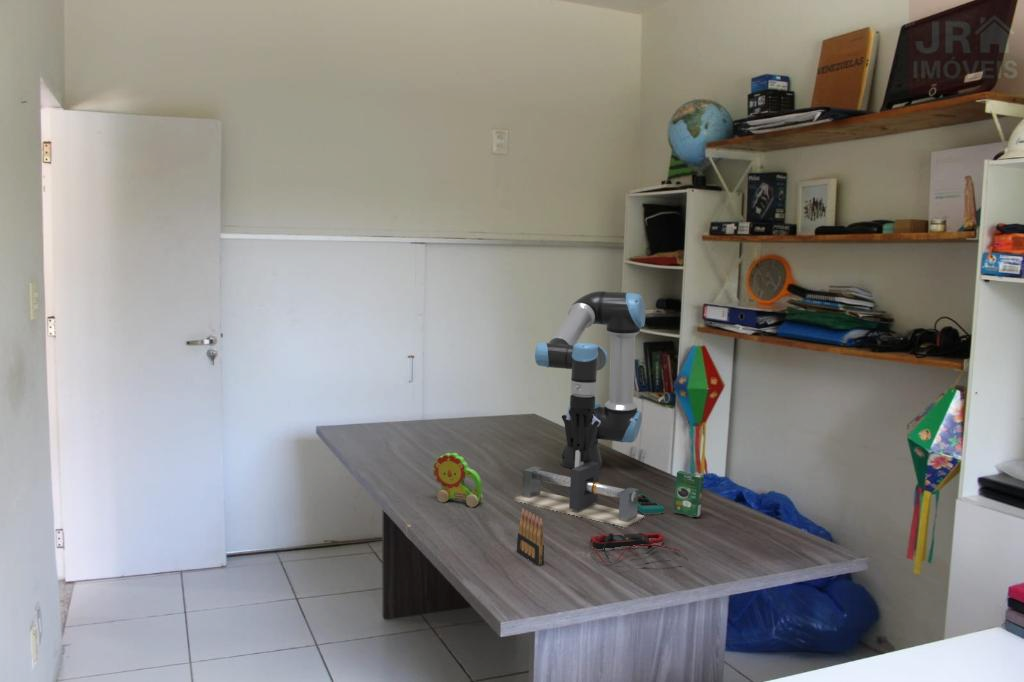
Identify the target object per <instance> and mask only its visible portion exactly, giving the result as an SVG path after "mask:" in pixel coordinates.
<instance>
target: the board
mask: <svg viewBox="0 0 1024 682" xmlns="http://www.w3.org/2000/svg"><path fill="white" fill-rule="evenodd" d="M513 501H514V502H516V501H517V503H520V502H522V503H521V504H524V503H526V504H525V505H528V504H530V505H529V506H532V505H533V507H536V506H537V507H536V508H540V507H541V509H544V508H545V510H548V509H550V510H549V511H552V510H554V511H553V512H556V511H558V512H557V513H560V512H561V513H562V514H564V513H566V514H565V515H568V514H570V515H569V516H572V515H575V516H574V517H576V516H578V517H577V518H580V517H583V518H582V519H584V518H587V519H586V520H588V519H592V520H596V521H600V522H606V523H610V524H615V525H619V526H623V527H627V526H628V525H630V524H632V523H634V522H636V521H638V520H639V519H641V518H643V517H644V518H645V515H642V514H641V513H637V518H635V519H633V520H631V521H629V522H625V521H620V520H618V519H619V508H613V507H609V506H607V505H601V504H599V503H593V504H591V505H588V506H586V507H584V508H582V509H580V510H574V509H570V508H569V503H570V497H569V496H563V495H558V494H557V493H556V494H555V493H551V492H547V491H543V490H541V491H540V494H539V495H537V496H534V497H532V498H527V497H523V496H522V494H520V495H517V496H515V497H514V498H513ZM561 513H560V514H561ZM592 520H591V521H592ZM596 521H595V522H596ZM600 522H599V523H600Z"/></svg>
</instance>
